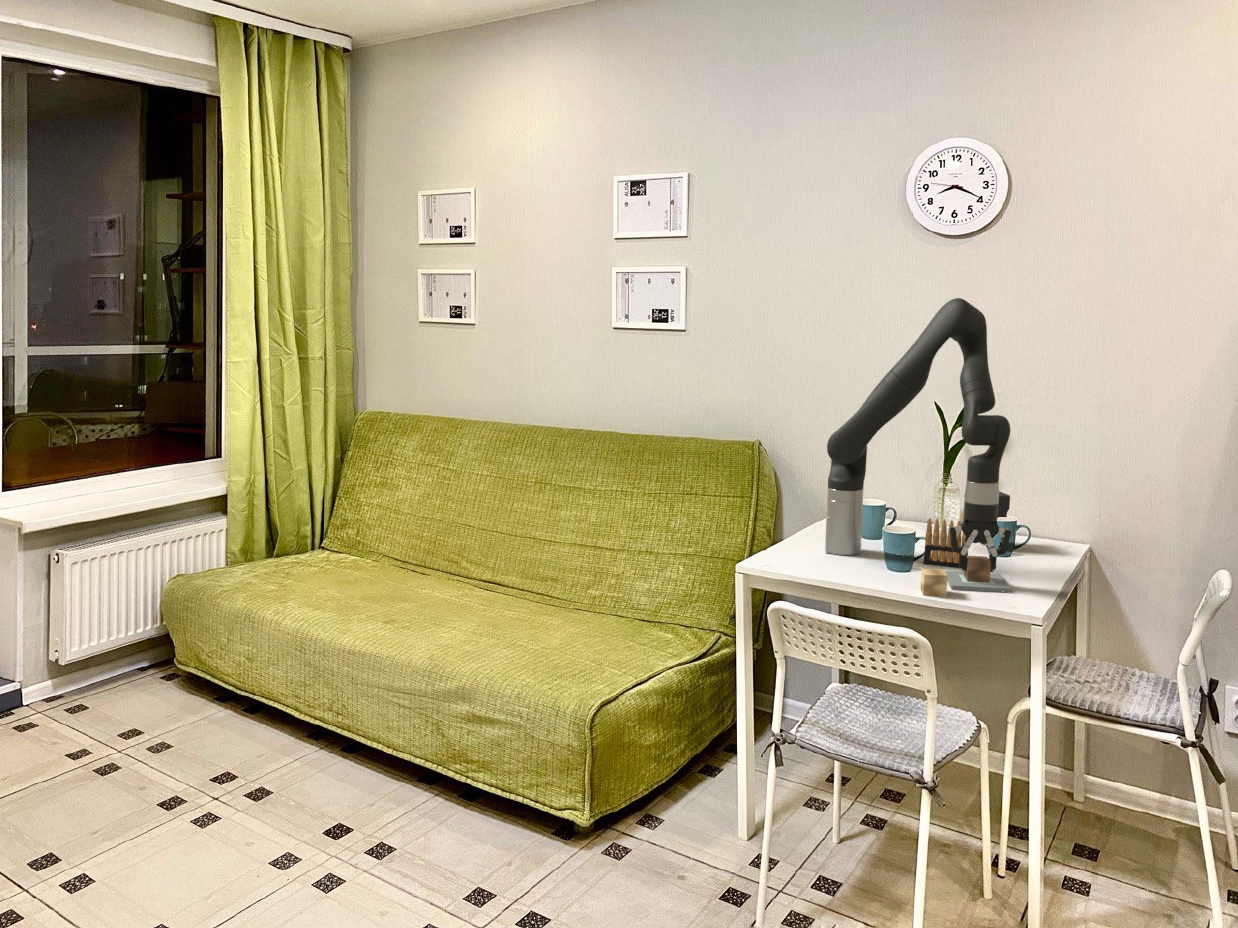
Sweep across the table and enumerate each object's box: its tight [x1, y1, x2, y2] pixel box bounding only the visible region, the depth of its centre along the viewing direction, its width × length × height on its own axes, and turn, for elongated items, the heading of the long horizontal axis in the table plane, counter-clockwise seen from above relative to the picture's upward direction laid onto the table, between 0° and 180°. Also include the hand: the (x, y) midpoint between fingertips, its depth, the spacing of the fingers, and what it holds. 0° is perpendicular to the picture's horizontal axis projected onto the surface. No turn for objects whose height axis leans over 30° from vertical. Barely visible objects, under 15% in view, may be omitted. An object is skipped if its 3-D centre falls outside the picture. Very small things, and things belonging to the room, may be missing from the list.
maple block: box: [920, 568, 948, 598], centre depth 232 cm, size 5×5×5 cm
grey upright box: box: [981, 490, 1011, 546], centre depth 277 cm, size 11×4×15 cm, turn 5°
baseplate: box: [945, 570, 1012, 593], centre depth 240 cm, size 13×13×1 cm
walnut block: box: [963, 555, 991, 583], centre depth 239 cm, size 5×5×5 cm
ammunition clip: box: [922, 517, 969, 569], centre depth 255 cm, size 11×2×12 cm, turn 65°
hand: (977, 570), depth 239 cm, fingers open, 5 cm apart
